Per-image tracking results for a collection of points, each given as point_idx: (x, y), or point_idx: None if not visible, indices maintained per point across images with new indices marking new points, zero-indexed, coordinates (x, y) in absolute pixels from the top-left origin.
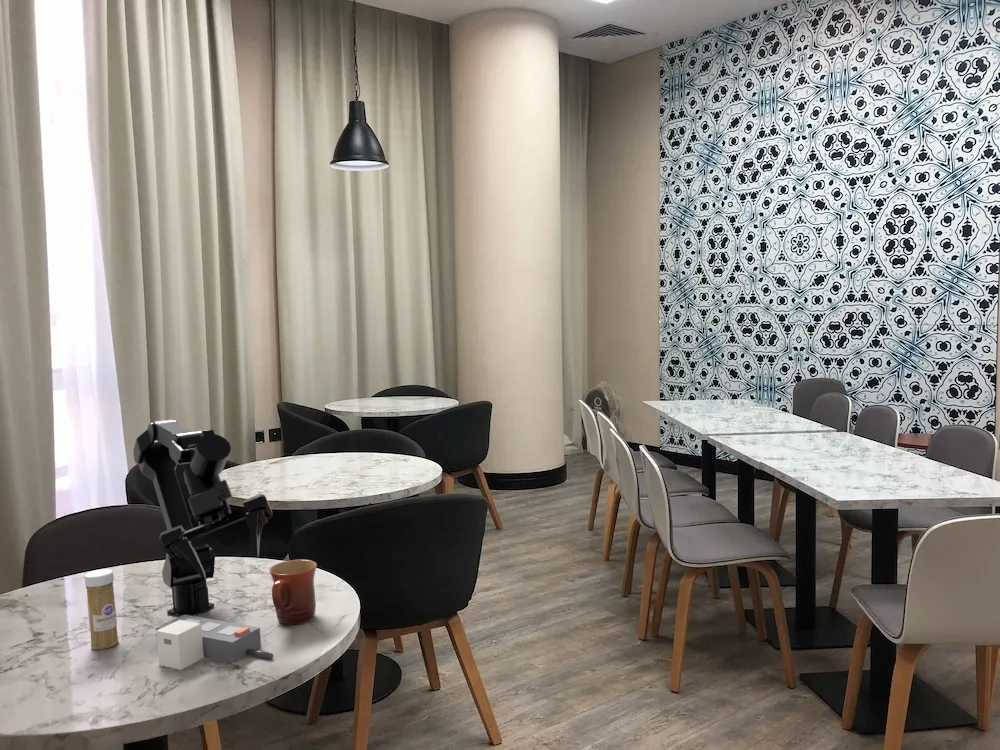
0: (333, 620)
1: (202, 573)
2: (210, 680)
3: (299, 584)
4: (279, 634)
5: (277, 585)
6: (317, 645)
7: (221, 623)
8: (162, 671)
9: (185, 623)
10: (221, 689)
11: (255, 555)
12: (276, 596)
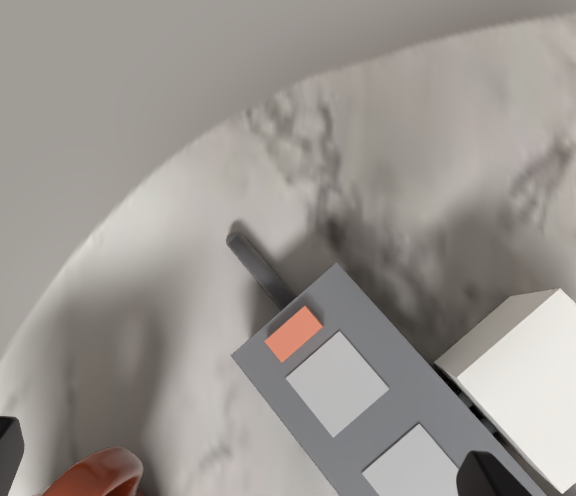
0: None
1: (495, 474)
2: (416, 175)
3: None
4: (181, 426)
5: (66, 485)
6: (102, 273)
7: (363, 491)
8: None
9: (530, 420)
10: (388, 104)
11: (12, 420)
12: (107, 456)
